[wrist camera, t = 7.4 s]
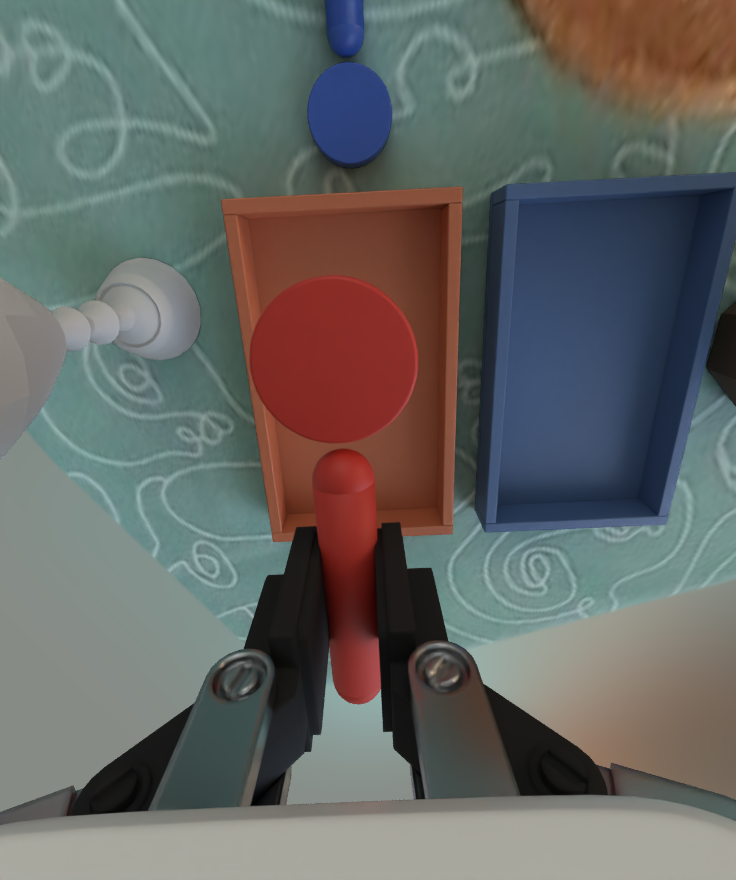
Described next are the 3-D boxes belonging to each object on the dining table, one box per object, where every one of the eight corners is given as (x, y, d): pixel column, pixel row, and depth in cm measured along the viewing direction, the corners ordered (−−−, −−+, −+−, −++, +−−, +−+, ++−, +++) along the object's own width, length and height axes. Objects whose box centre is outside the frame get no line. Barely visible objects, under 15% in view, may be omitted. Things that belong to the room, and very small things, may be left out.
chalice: (145, 202, 21) (-798, -68, 4) (249, 317, 23) (-79, 466, 6) (51, 305, 22) (-888, 428, 6) (155, 403, 24) (-306, 711, 8)
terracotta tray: (236, 206, 21) (220, 199, 18) (452, 195, 21) (463, 186, 18) (280, 518, 27) (272, 542, 25) (445, 511, 27) (452, 534, 25)
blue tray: (490, 193, 21) (506, 183, 18) (708, 181, 20) (752, 171, 18) (474, 509, 27) (484, 533, 25) (640, 502, 27) (666, 524, 25)
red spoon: (416, 668, 14) (422, 714, 12) (302, 674, 14) (296, 719, 12) (413, 270, 10) (421, 270, 8) (248, 279, 10) (228, 280, 8)
